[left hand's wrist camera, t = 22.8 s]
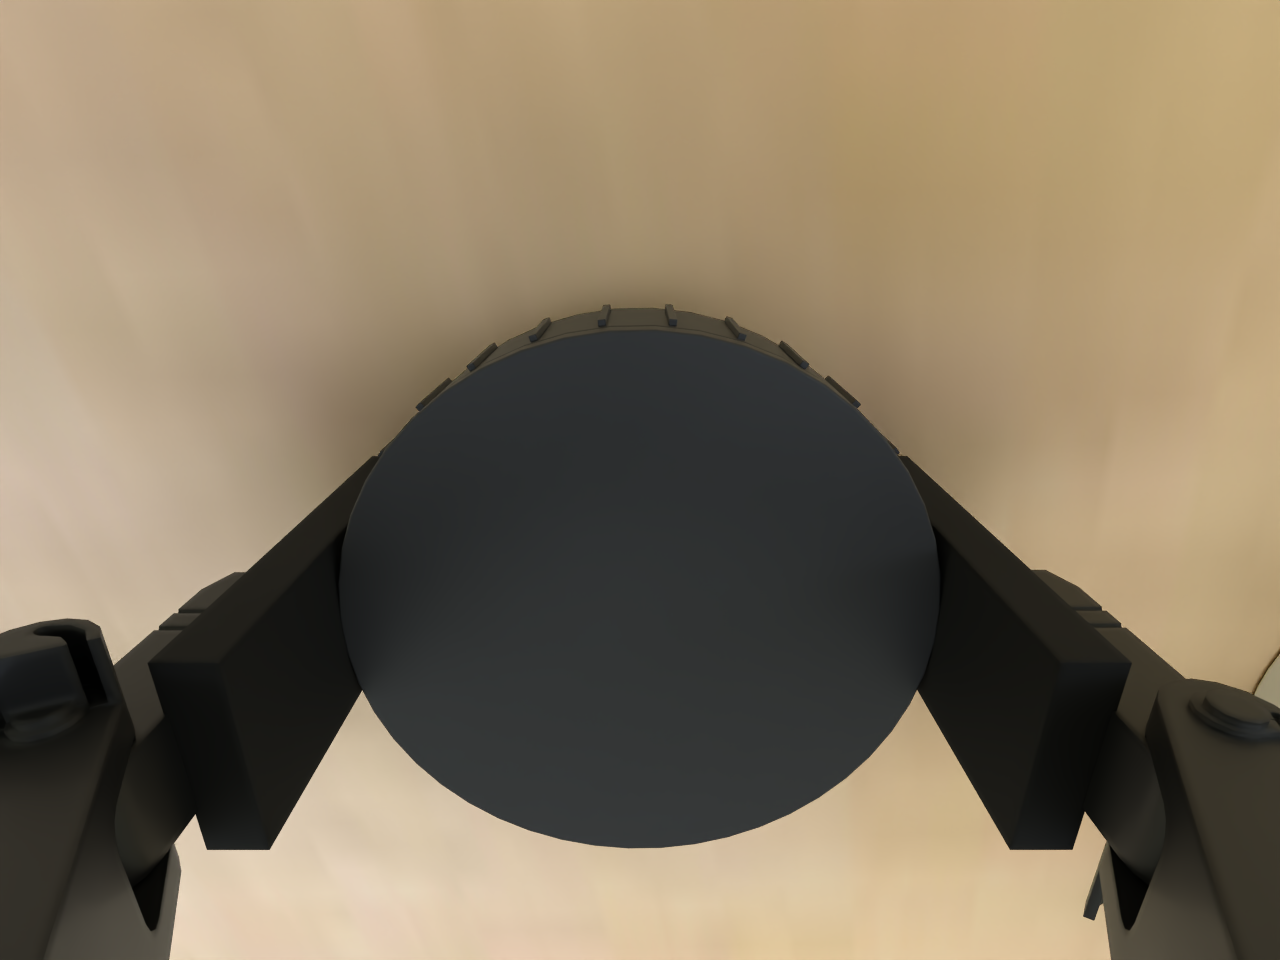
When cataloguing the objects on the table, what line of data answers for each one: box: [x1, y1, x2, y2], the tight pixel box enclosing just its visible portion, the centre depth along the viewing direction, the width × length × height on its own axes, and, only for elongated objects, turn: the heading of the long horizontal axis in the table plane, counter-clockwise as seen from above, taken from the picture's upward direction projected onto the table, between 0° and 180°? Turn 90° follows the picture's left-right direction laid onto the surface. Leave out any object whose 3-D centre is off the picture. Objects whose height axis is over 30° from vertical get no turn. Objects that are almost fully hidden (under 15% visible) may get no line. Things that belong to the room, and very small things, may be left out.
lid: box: [338, 304, 940, 848], centre depth 11 cm, size 9×9×2 cm
